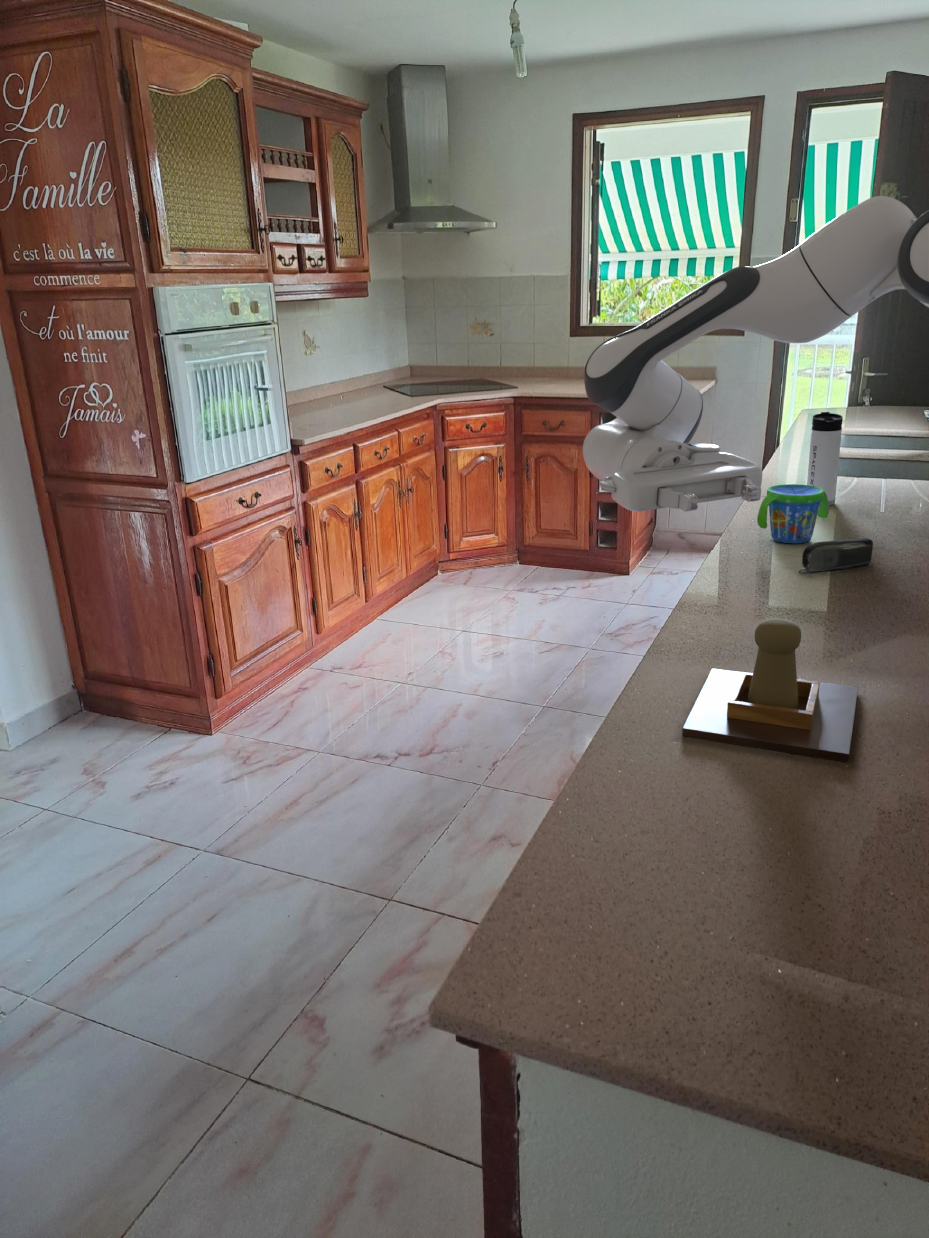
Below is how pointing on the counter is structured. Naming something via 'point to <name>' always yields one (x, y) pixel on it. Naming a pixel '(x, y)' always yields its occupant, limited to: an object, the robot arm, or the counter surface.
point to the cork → (775, 664)
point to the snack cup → (793, 511)
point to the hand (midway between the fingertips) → (725, 499)
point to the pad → (775, 717)
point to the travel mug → (825, 453)
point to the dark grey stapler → (837, 555)
